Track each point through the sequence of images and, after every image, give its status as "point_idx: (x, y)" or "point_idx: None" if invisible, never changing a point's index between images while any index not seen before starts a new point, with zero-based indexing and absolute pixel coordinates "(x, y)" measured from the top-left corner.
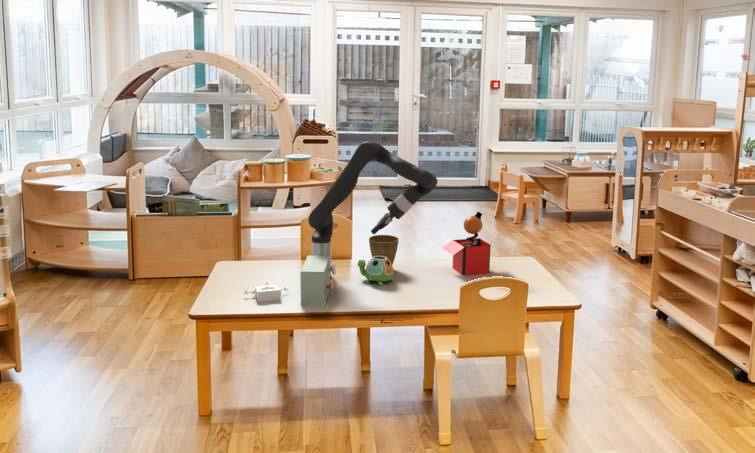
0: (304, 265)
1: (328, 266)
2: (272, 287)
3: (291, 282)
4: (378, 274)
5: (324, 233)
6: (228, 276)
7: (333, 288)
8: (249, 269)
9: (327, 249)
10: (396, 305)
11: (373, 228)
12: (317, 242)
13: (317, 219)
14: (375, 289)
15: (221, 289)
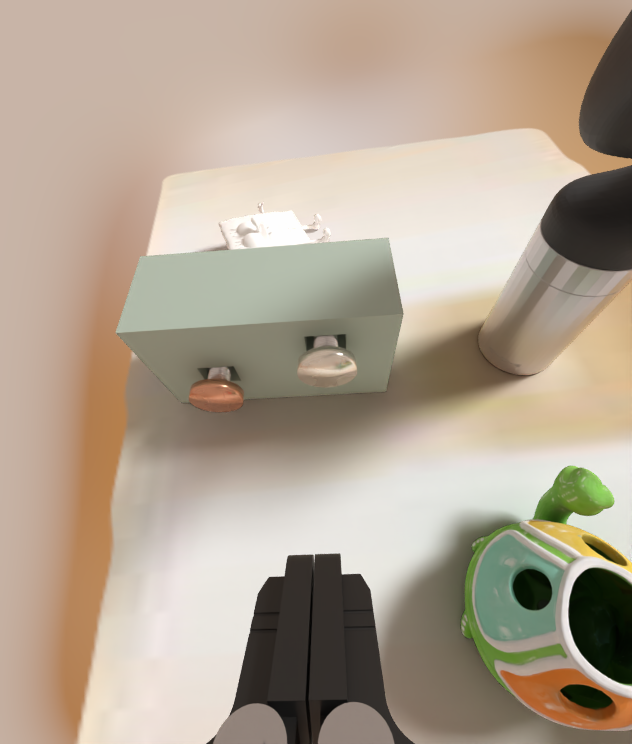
0: (224, 253)
1: (318, 340)
2: (246, 241)
3: (408, 279)
4: (474, 611)
5: (624, 204)
6: (422, 158)
7: (232, 406)
8: (498, 176)
9: (554, 289)
10: (142, 740)
11: (302, 604)
12: (542, 223)
13: (609, 63)
14: (389, 593)
15: (319, 171)
